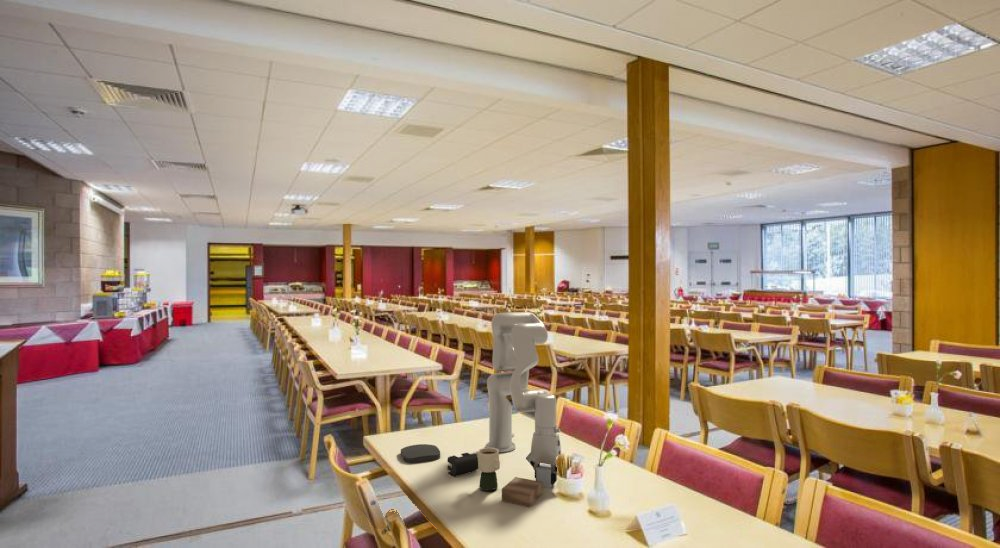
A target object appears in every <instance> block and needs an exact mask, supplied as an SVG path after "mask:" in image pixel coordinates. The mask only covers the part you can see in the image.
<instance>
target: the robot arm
mask: <svg viewBox="0 0 1000 548" xmlns="http://www.w3.org/2000/svg"><path fill="white" fill-rule="evenodd" d="M491 331H492V335H493V336H492V337H493V343H492V344H493V345H492V346H493V347H492V367H493V369H494V370H495V371H497V372H496V373H493V374H491V375H489V376H488V377H487V381H486V388H487V392H488V402H489V404H488V405H489V407H488V414H489V415H488V417H489V418H488V419H489V421H488V424H489V425H488V427H489V428H488V429H489V430H488V432H489V433H488V434H489V435H488V436H489V438H488V440H489V441H488V442H487V443H486V444H485V448H495V449H498V451H499V453H507V452H511V451H513V450H515V449H516V444H515V442H513V441H512V440H513V438H514V437H515V434H514V433H513V430H512V429H513V427H512V426H513V425H512V424H513V423H512V421H513V418H512V417H513V416H512V415H513V411H512V410H513V409H512V408H513V407H514V409H515V411H517V412H518V413H528V412H534V432H533V434H532V438H531V447H530V452H529V453H528V455H526V457H525V460H526V461H527V462H528V463H529V464H530V466H531V467H532V468H533V470H534V479H536V468H538V467H539V466H540V465H541V464H546V465H551V469H552V473H551V485H553V486H554V485H555V483H556V482H557V480H558V477H557V476H558V475H557V474H558V471H557V467H556V457H557V456H558V455H561V456H562V447H561V446H562V444H561V440H560V439H561V438H560V435H559V433H561V428H558V425H557V397H556V396H555V395H554V394H551V393H550V392H549V391H548V390H547V389H546V388H545V389H544V388H540V389H528V385H529V377H530V376H529V375H530V369H533V368H534V367H536V366H537V365H538V364H539V362H540V359H539V355H538V351H537V347H536V345H543V344H546V343H547V340H548V335H549V334H548V330H547V328H546V326H545V324H544V323H543V321H541V319H540V318H538V316H536V315H535V314H534V313H533V312H530V311H520V312H519V311H518V312H517V311H514V312H513V311H512V312H511V311H510V312H499V313H496V314H494V315H493V316H492V318H491ZM507 396H511V401H512V404H511V402H510V400H509V399H508V398H507ZM512 405H513V407H512Z"/></svg>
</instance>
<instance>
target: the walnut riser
mask: <svg viewBox="0 0 1000 548" xmlns="http://www.w3.org/2000/svg"><path fill="white" fill-rule="evenodd" d="M543 489H544V487H543V482H540V481H536V479H535V480H534V479H527V478H522V477H517V476H515V477H513V478H512V480H510V481H509V482H507V484H505V485H504V486H503V487H502V488H501V502H504V503H509V504H514V505H518V506H523V507H528V508H531V507H532V506H533V505H534V504H535V503H536V502H537V501H538V500H539V498H540V497H541V496H543V493H544V491H543Z"/></svg>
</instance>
